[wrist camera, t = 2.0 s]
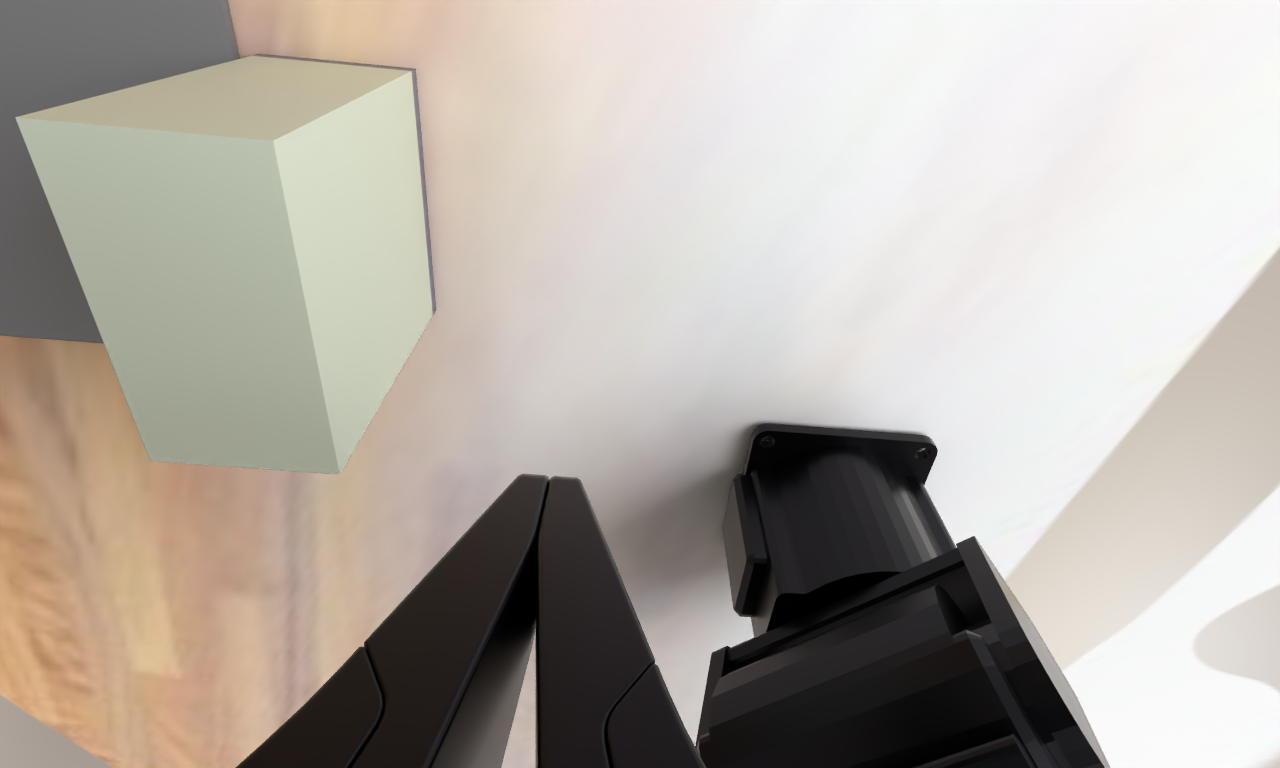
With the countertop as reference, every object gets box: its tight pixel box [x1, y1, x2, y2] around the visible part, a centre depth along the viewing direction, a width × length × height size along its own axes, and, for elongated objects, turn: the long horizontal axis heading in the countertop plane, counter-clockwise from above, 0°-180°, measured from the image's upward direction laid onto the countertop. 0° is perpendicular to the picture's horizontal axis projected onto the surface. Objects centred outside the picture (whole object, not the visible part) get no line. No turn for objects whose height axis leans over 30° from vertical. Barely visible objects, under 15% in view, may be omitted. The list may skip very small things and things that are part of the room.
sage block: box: [15, 54, 436, 474], centre depth 16 cm, size 4×7×8 cm, turn 175°
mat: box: [0, 0, 240, 343], centre depth 19 cm, size 9×11×1 cm
